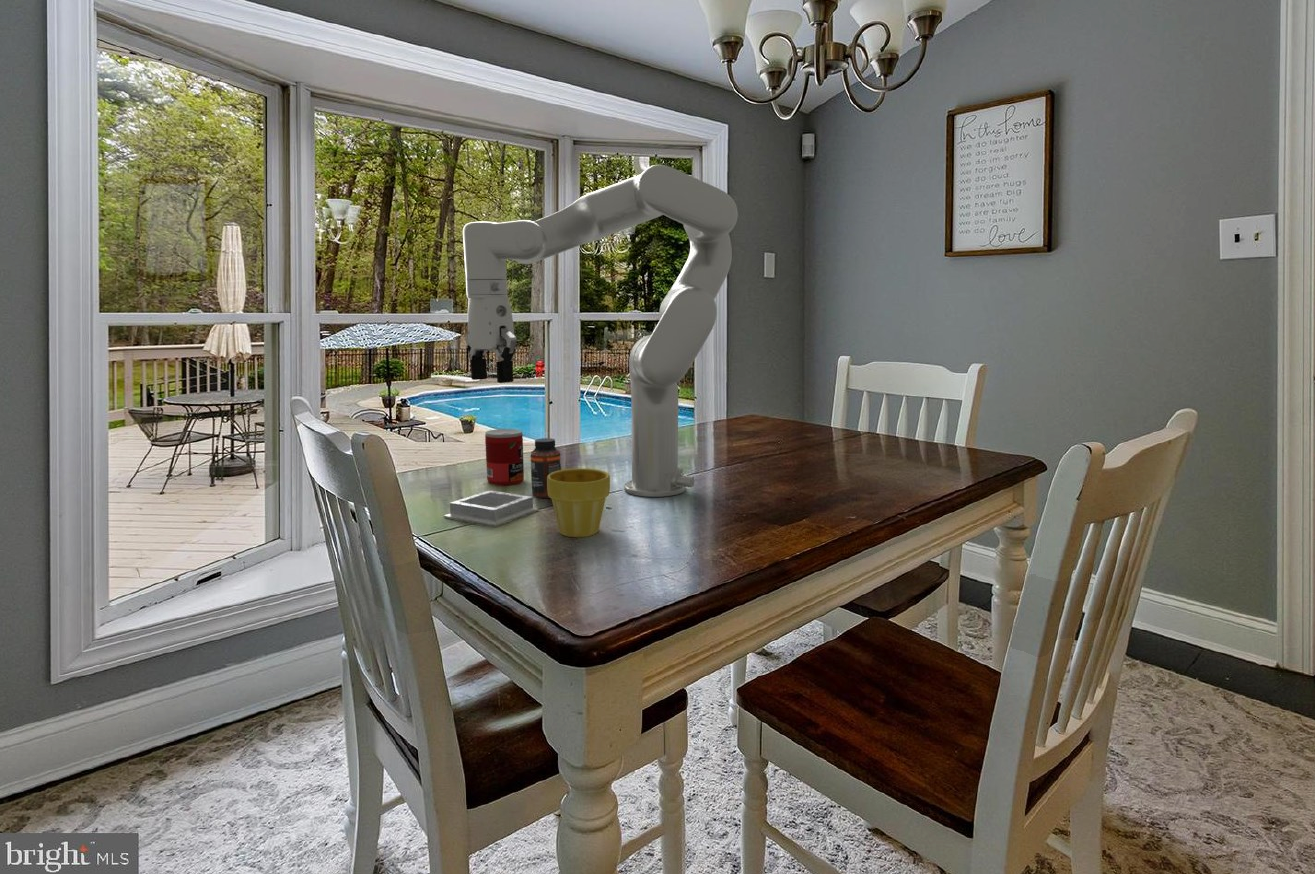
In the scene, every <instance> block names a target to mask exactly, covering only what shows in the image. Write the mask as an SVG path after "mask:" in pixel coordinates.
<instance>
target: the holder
mask: <svg viewBox="0 0 1315 874" xmlns="http://www.w3.org/2000/svg"><path fill="white" fill-rule="evenodd" d="M449 510H450V511H449V513H448V514H444V515H443V518H444V519H449V520H454V521H459V522H460V521H461V522H465V523H472V524H477V525H481V524H482V525H481V526H486V527H487V526H488V527H492V528H497V527H500V526H503V525H505V524H508V523H510V522H513V521H516V520H518V519H521V518H524V517H526V516H529V515H531V514H534V513H537V512H539V511H540V508H539V507H534V497H533V496H529V495H522V494H515V493H509V492H503V491H499V490H498V491H497V490H491V489H489V490H486V491H483V492H479V493H476V494H473V495H469V496H467V497H463V498H460V499H458V500H454V501H450V502H449Z"/></svg>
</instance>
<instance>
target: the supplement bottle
mask: <svg viewBox="0 0 1315 874" xmlns="http://www.w3.org/2000/svg"><path fill="white" fill-rule="evenodd" d="M534 447H535V448H534V449H533V450H532V451H531V452H530V474H531V475H530V476H531V477H530V478H531V495H532V497H533V496H534V497H535V498H541V499H546V498H547V499H549V498H550V497H549V496H548V492H547V476H548V475H549V474H550V473H552V472H555V471H559V470H562V466H561V452H560V450H559V449H557V448H556V440H555V438H551V437H549V438H548V437H547V438H545V437H543V438H537V439H534ZM550 499H551V498H550Z"/></svg>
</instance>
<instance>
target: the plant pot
mask: <svg viewBox="0 0 1315 874" xmlns="http://www.w3.org/2000/svg"><path fill="white" fill-rule="evenodd" d="M610 476H611V475H610V474H609V472H607V471H605V470H600V469H595V468H594V469H593V468H584V467H583V468H581V467H580V468H577V467H576V468H566V469H561V470H559V471H555V472H552V473H550V474H549V475H548V476H547V492H548V496H549V497H550V499H551V502H552V506H553V509H554V513H555V519H556V522H557V523H556V524H557V528H558V532H559V534H561V535H562V536H565V537H569V538H584V537H585V538H586V537H591V536H593V535H596V534H597V533H598V532H599V531H600V526H601V521H602V516H603V511H604V508H605V502H606V498H607V497H608V496H609V495H610V492H611V491H610V489H611V477H610Z"/></svg>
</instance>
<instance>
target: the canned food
mask: <svg viewBox="0 0 1315 874" xmlns="http://www.w3.org/2000/svg"><path fill="white" fill-rule="evenodd" d="M484 437H485V438H484V441H485V444H484V445H485V460H486V462H485V463H486V480H487V483H489V484H490V485H493V486H502V487H503V486H505V487H506V486H515V485H519V484H521V483H522V482H523V481H524V478H525V475H524V473H525V472H524V471H525V470H524V469H525V468H524V464H525V463H524V436H523V431H522V430H520V429H515V428H499V429H490V430H486V431H485V435H484Z"/></svg>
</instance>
